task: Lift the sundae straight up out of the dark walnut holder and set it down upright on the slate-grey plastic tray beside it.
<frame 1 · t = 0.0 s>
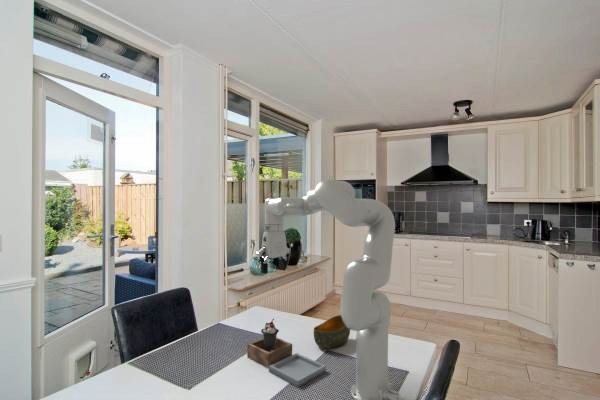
hand: (273, 271, 131), 31 cm above the table, tool pointing down, fingers open, 9 cm apart
holder: (269, 357, 124), on the table
sundae: (269, 357, 124), resting in holder
tray: (297, 371, 113), on the table
green bowl: (334, 344, 137), on the table
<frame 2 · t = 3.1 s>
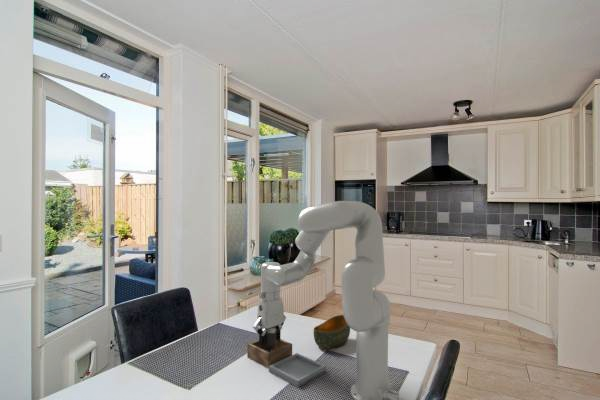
hand: (269, 341, 124), 6 cm above the table, tool pointing down, fingers closed on sundae, 6 cm apart
sundae: (269, 357, 124), resting in holder, touching gripper
everything else where it was.
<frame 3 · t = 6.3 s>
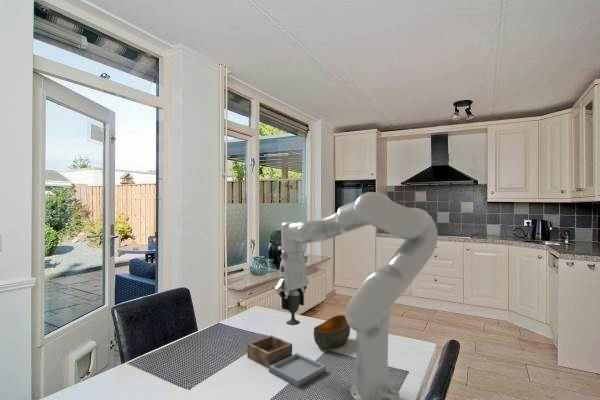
hand: (293, 306, 116), 22 cm above the table, tool pointing down, fingers closed on sundae, 6 cm apart
sundae: (293, 323, 116), point 16 cm above the table, touching gripper
everything else where it was.
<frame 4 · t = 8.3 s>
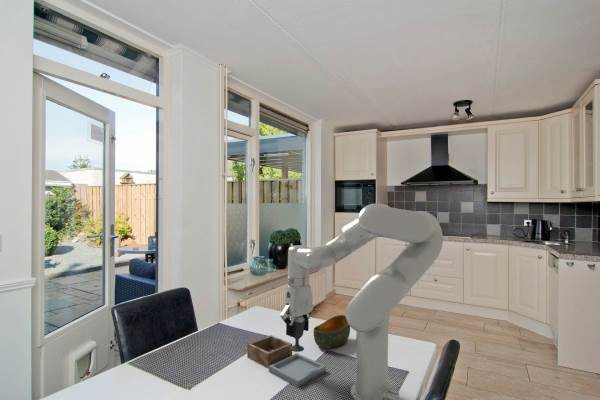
hand: (297, 332, 114), 14 cm above the table, tool pointing down, fingers closed on sundae, 6 cm apart
sundae: (297, 349, 114), point 8 cm above the table, touching gripper
everything else where it was.
when the fingers open (8 cm above the table, at t = 9.9 s): sundae drops 2 cm, resting on tray.
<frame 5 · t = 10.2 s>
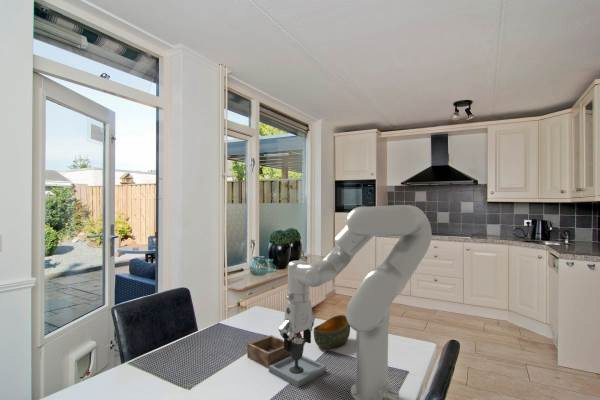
hand: (297, 346, 114), 9 cm above the table, tool pointing down, fingers open, 9 cm apart
sundae: (296, 370, 113), point 1 cm above the table, touching tray
everything else where it was.
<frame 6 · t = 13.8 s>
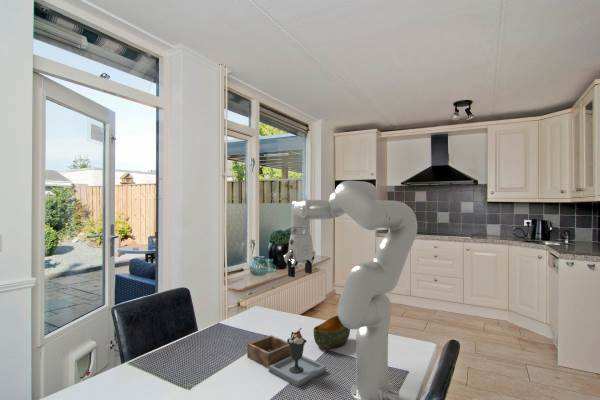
hand: (300, 274, 129), 30 cm above the table, tool pointing down, fingers open, 9 cm apart
nothing on the table moved.
at the end: sundae inside the target area on the tray (0.6 cm from its centre), point 0.6 cm above the tray's base; sundae tilted 0°; the gripper is holding nothing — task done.
